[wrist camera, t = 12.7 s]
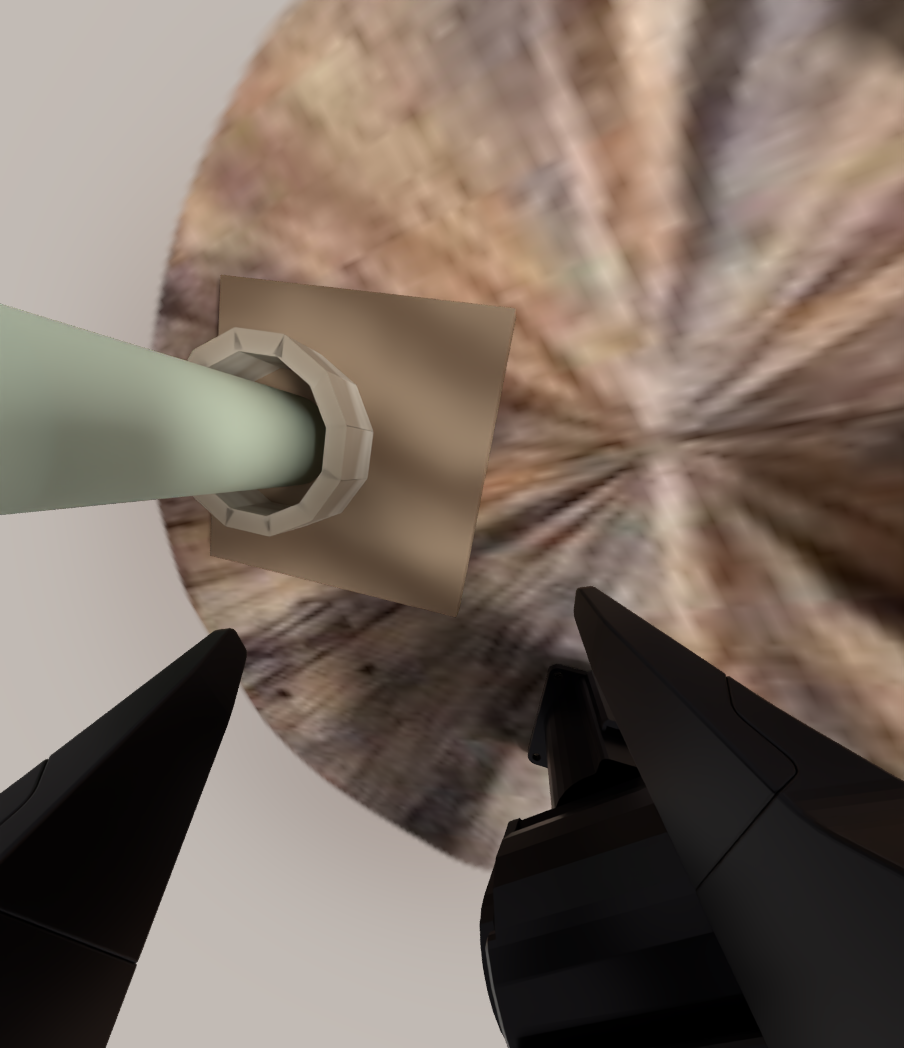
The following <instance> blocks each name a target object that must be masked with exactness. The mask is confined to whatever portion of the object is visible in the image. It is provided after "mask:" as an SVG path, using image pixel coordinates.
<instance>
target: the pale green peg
mask: <svg viewBox="0 0 904 1048" xmlns="http://www.w3.org/2000/svg"><path fill="white" fill-rule="evenodd" d="M325 435H326V426H325V424H324V421H323V418H322V416H321V413H320V411H319V408H318V406H317V405H316V404H315V403H313V402H312V401H311V400H309V399H307V398H305V397H302V396H299V395H296V394H293V393H290V392H286V391H283V390H280V389H277V388H273V387H270V386H267V385H264V384H260V383H257V382H254V381H251V380H247V379H244V378H241V377H237V376H234V375H231V374H228V373H224V372H221V371H218V370H215V369H211V368H208V367H205V366H202V365H198V364H195V363H192V362H189V361H185V360H182V359H179V358H176V357H172V356H169V355H166V354H163V353H159V352H156V351H153V350H150V349H146V348H143V347H140V346H137V345H133V344H130V343H127V342H123V341H120V340H117V339H114V338H111V337H107V336H104V335H100V334H97V333H94V332H91V331H88V330H85V329H81V328H78V327H75V326H72V325H68V324H65V323H62V322H58V321H55V320H52V319H48V318H45V317H42V316H39V315H36V314H32V313H29V312H26V311H23V310H19V309H16V308H13V307H9V306H6V305H3V304H0V515H6V514H15V513H26V512H36V511H45V510H55V509H66V508H75V507H85V506H95V505H106V504H116V503H126V502H136V501H145V500H156V499H166V498H176V497H186V496H196V495H206V494H216V493H226V492H236V491H246V490H256V489H266V488H276V487H286V486H296V485H303V484H307V483H309V482H312V481H313V480H315V479H316V478H318V476H319V475H320V473H321V472H322V465H323V455H324V445H325Z"/></svg>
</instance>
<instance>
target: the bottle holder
mask: <svg viewBox="0 0 904 1048" xmlns="http://www.w3.org/2000/svg"><path fill="white" fill-rule="evenodd" d="M515 320H516V308H509V307H500V306H491V305H482V304H473V303H465V302H456V301H447V300H438V299H429V298H421V297H412V296H403V295H394V294H385V293H377V292H368V291H359V290H350V289H341V288H333V287H324V286H315V285H306V284H297V283H289V282H280V281H271V280H262V279H253V278H245V277H236V276H227V275H221V280H220V306H219V333H218V337H216V338H214V339H212V340H210V341H209V342H207V343H205V344H203V345H201V346H200V347H198V348H196V349H194V350H193V351H192V353H191V355H190V357H189V358H188V360H187V361H189V362H192V363H195V364H198V365H202V366H205V367H208V368H211V369H215V370H218V371H221V372H224V373H228V374H231V375H234V376H237V377H241V378H244V379H247V380H251V381H254V382H257V383H260V384H264V385H267V386H270V387H273V388H277V389H280V390H283V391H286V392H290V393H293V394H296V395H299V396H302V397H305V398H307V399H309V400H311V401H312V402H313V403H315V404H316V405H317V406H318V408H319V411H320V413H321V416H322V418H323V421H324V424H325V426H326V435H325V445H324V455H323V465H322V472H321V473H320V475H319V476H318V478H316V479H315V480H313V481H312V482H309V483H307V484H303V485H296V486H286V487H276V488H266V489H256V490H246V491H236V492H226V493H216V494H206V495H196V496H192V497H194V498H195V499H196V500H197V501H198V502H199V503H200V504H201V505H202V506H204V507H205V508H206V509H207V510H208V511H209V512H210V513H211V514H212V518H211V545H210V556H214V557H218V558H222V559H226V560H230V561H234V562H238V563H242V564H246V565H250V566H254V567H258V568H262V569H266V570H270V571H274V572H278V573H282V574H286V575H290V576H294V577H298V578H302V579H305V580H309V581H313V582H317V583H321V584H325V585H329V586H333V587H337V588H341V589H345V590H349V591H353V592H357V593H361V594H365V595H369V596H373V597H377V598H381V599H385V600H389V601H393V602H397V603H401V604H405V605H409V606H413V607H417V608H421V609H425V610H429V611H433V612H437V613H440V614H444V615H448V616H452V617H456V616H457V614H458V611H459V609H460V604H461V599H462V594H463V589H464V583H465V578H466V573H467V568H468V563H469V558H470V552H471V547H472V542H473V537H474V532H475V527H476V521H477V516H478V511H479V506H480V501H481V496H482V490H483V485H484V480H485V475H486V470H487V465H488V459H489V454H490V449H491V444H492V439H493V434H494V428H495V423H496V418H497V413H498V408H499V402H500V397H501V392H502V387H503V382H504V377H505V371H506V366H507V361H508V356H509V351H510V346H511V340H512V335H513V330H514V325H515Z"/></svg>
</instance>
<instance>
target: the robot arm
mask: <svg viewBox="0 0 904 1048" xmlns="http://www.w3.org/2000/svg"><path fill="white" fill-rule="evenodd" d="M574 617H575V621H576V624H577V627H578V630H579V633H580V636H581V639H582V642H583V644H584V647H585V650H586V653H587V656H588V659H589V662H590V665H591V668H592V670H593V671H589V672H586V671H583V670H579V669H575V668H571V667H567V666H563V665H560V664H555V665H552V666H551V667H550V668H549V670H548V674H547V678H546V682H545V686H544V689H543V693H542V697H541V701H540V705H539V709H538V713H537V717H536V720H535V724H534V728H533V732H532V736H531V740H530V744H529V748H528V758H529V760H530V761H531V762H532V763H534V764H536V765H539V766H543V767H546V768H548V775H549V785H550V796H551V806H552V809H551V810H548V811H545V812H543V813H540V814H537V815H535V816H532V817H529V818H526V819H524V820H521V819H520V818H518V819H515V820H513V821H510V822H509V823H508V826H507V829H506V832H505V835H504V838H503V840H502V842H501V845H500V848H499V850H498V853H497V856H496V861H495V865H494V868H493V871H492V874H491V877H490V880H489V883H488V886H487V889H486V892H485V895H484V899H483V903H482V908H481V919H480V945H481V953H482V963H483V970H484V975H485V981H486V986H487V991H488V995H489V998H490V1002H491V1006H492V1009H493V1013H494V1015H495V1018H496V1020H497V1023H498V1025H499V1028H500V1031H501V1033H502V1034H503V1036H504V1038H505V1041H506V1043H507V1047H508V1048H904V781H903V780H901V779H899V778H897V777H895V776H894V775H892V774H890V773H889V772H887V771H885V770H883V769H882V768H880V767H878V766H876V765H875V764H873V763H871V762H870V761H868V760H866V759H864V758H863V757H861V756H859V755H857V754H856V753H854V752H852V751H851V750H849V749H847V748H845V747H844V746H842V745H840V744H839V743H837V742H835V741H833V740H832V739H830V738H828V737H826V736H825V735H823V734H821V733H820V732H818V731H816V730H814V729H813V728H811V727H809V726H808V725H806V724H804V723H803V722H801V721H799V720H798V719H796V718H794V717H793V716H791V715H789V714H788V713H786V712H784V711H782V710H781V709H779V708H777V707H776V706H774V705H773V704H771V703H770V702H768V701H766V700H765V699H763V698H762V697H760V696H759V695H757V694H756V693H754V692H752V691H751V690H749V689H748V688H746V687H745V686H743V685H742V684H740V683H739V682H737V681H736V680H734V679H733V678H731V677H729V676H727V677H726V675H725V673H723V672H722V671H720V670H719V669H717V668H716V667H714V666H713V665H711V664H710V663H708V662H707V661H705V660H704V659H702V658H701V657H699V656H698V655H696V654H695V653H693V652H692V651H690V650H689V649H687V648H686V647H684V646H683V645H681V644H680V643H678V642H677V641H675V640H674V639H672V638H671V637H669V636H668V635H666V634H665V633H663V632H662V631H660V630H659V629H657V628H656V627H654V626H653V625H651V624H650V623H648V622H647V621H645V620H644V619H642V618H641V617H639V616H638V615H636V614H635V613H633V612H632V611H630V610H629V609H627V608H626V607H624V606H622V605H621V604H619V603H618V602H616V601H615V600H613V599H612V598H610V597H609V596H607V595H606V594H604V593H603V592H601V591H600V590H598V589H597V588H595V587H593V586H588V587H580V588H578V589H577V590H576V596H575V604H574ZM246 658H247V651H246V648H245V646H244V644H243V643H242V641H241V639H240V638H239V636H238V634H237V632H236V631H235V630H234V629H231V628H228V629H219V630H215V631H214V632H212V633H211V634H209V635H208V636H207V637H206V638H204V639H203V640H202V641H200V642H199V643H198V644H196V645H195V646H194V647H193V648H191V649H190V650H188V651H187V652H186V653H184V654H183V655H182V656H181V657H179V658H178V659H177V660H175V661H174V662H173V663H171V664H170V665H169V666H168V667H166V668H165V669H163V670H162V671H161V672H160V673H158V674H157V675H156V676H154V677H153V678H152V679H150V680H149V681H148V682H146V683H145V684H144V685H142V686H141V687H140V688H139V689H137V690H136V691H135V692H133V693H132V694H131V695H129V696H128V697H127V698H125V699H124V700H123V701H121V702H120V703H119V704H118V705H116V706H115V707H114V708H112V709H111V710H110V711H108V712H107V713H106V714H104V715H103V716H102V717H100V718H99V719H98V720H96V721H95V722H94V723H93V724H91V725H90V726H89V727H87V728H86V729H85V730H83V731H82V732H81V733H79V734H78V735H77V736H75V737H74V738H73V739H72V740H70V741H69V742H68V743H66V744H65V745H64V746H62V747H61V748H60V749H58V750H57V751H56V752H55V753H53V754H52V755H51V756H50V757H49V759H46V760H44V761H42V762H41V763H40V764H39V765H37V766H36V767H35V768H33V769H32V770H31V771H30V772H28V773H27V774H26V775H24V776H23V777H22V778H20V779H19V780H18V781H16V782H15V783H14V784H12V785H11V786H10V787H8V788H7V789H6V790H4V791H3V792H2V793H0V1048H106V1045H107V1043H108V1040H109V1037H110V1035H111V1032H112V1030H113V1027H114V1024H115V1022H116V1019H117V1016H118V1013H119V1011H120V1008H121V1006H122V1003H123V1001H124V998H125V995H126V993H127V990H128V987H129V985H130V982H131V979H132V977H133V974H134V971H135V969H136V966H137V964H136V963H137V962H138V960H139V957H140V954H141V952H142V950H143V947H144V944H145V942H146V939H147V936H148V934H149V931H150V928H151V926H152V923H153V921H154V918H155V915H156V913H157V910H158V907H159V905H160V902H161V899H162V897H163V894H164V891H165V889H166V886H167V884H168V881H169V878H170V876H171V873H172V870H173V868H174V865H175V862H176V860H177V857H178V855H179V852H180V849H181V846H182V844H183V841H184V839H185V836H186V833H187V831H188V828H189V826H190V823H191V820H192V818H193V815H194V812H195V810H196V807H197V804H198V802H199V799H200V796H201V794H202V791H203V788H204V786H205V783H206V781H207V778H208V775H209V772H210V770H211V767H212V764H213V762H214V760H215V757H216V754H217V751H218V749H219V746H220V744H221V741H222V738H223V736H224V733H225V730H226V728H227V725H228V722H229V719H230V716H231V713H232V710H233V707H234V703H235V699H236V695H237V692H238V688H239V684H240V681H241V677H242V673H243V669H244V666H245V662H246ZM556 672H560V673H561V675H560V676H555V675H554V673H556ZM535 753H538V754H539V755H538V756H537V755H534V754H535Z"/></svg>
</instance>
